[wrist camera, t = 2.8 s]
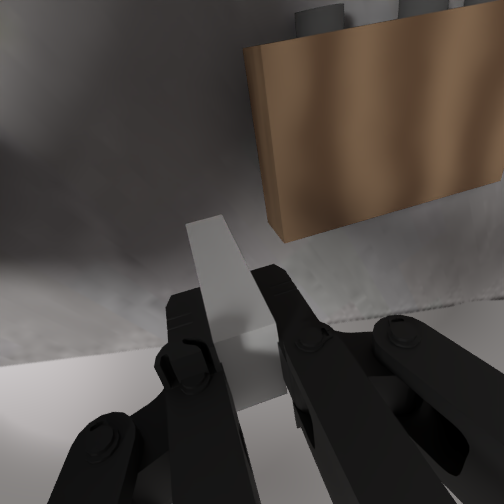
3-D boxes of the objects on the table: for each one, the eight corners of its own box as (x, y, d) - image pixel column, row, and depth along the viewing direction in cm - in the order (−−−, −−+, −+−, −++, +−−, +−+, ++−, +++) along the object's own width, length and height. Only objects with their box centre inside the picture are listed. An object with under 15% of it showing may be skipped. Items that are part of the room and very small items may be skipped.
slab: (268, 222, 28) (284, 243, 25) (242, 48, 21) (260, 45, 18) (462, 168, 31) (500, 180, 28) (496, 0, 24) (551, -10, 21)
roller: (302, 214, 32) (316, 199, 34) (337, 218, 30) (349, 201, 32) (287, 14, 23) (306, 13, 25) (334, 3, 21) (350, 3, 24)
